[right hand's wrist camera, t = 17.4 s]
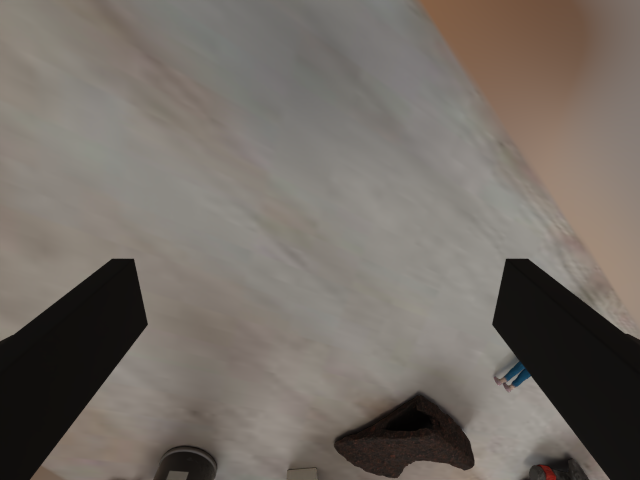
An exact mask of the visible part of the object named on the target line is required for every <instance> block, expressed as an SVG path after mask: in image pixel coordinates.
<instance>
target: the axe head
mask: <svg viewBox="0 0 640 480" xmlns="http://www.w3.org/2000/svg"><path fill="white" fill-rule="evenodd" d="M334 447H335V449H336V450H337V451H338V453H340V454H341V455H342V456H344V457H345V458H346V459H347V461H349V462H351V463H352V464H353V465H354V466H357V467H360V468H362V469H363V470H365V471H366V472H370V473H373V474H376V475H379V476H386V477H389V478H398V477H399V476H400V474H401V473H402V472H403V468H404V467H405V466H408V464H411V463H412V462H415V461H432V462H439V463H447V464H451V465H452V466H455V467H457V468H461V469H463V470H468V469H471V468H472V467H473V466H474V456H473V452H472V449H471V444H470V441H469V439H468V438H467V436H466V435H465V434H464V432H463V431H462V430H461V428H460V426H458V425H457V424H456V423H455V422H454V421H453V419H452V418H450V417H449V416H448V415H447V414H444V413H442V412H441V411H440V409H439V408H438V406H437V405H435V404H433V403H431V402H429V401H428V400H427V399H425V398H424V397H423V396H419V395H417V396H416V398H414V399H412V400H411V401H409V402H407V403H405V404H404V405H402V406H401V407H400V408H398V409H397V410H395V411H394V412H393V413H391V414H390V415H389V416H387V417H386V418H384V419H382V420H380V421H379V422H378V423H376V424H375V425H373V426H372V427H369V428H367V429H364V430H362V431H361V432H359V433H357V434H353V435H349V436H347V437H344V438H343V439H342V440H340V441H337V442H335V443H334Z"/></svg>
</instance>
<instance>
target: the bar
mask: <svg viewBox="0 0 640 480" xmlns="http://www.w3.org/2000/svg"><path fill="white" fill-rule="evenodd" d="M287 480H318V475H317V469H316V468H307V469H295V470H288V471H287Z"/></svg>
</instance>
